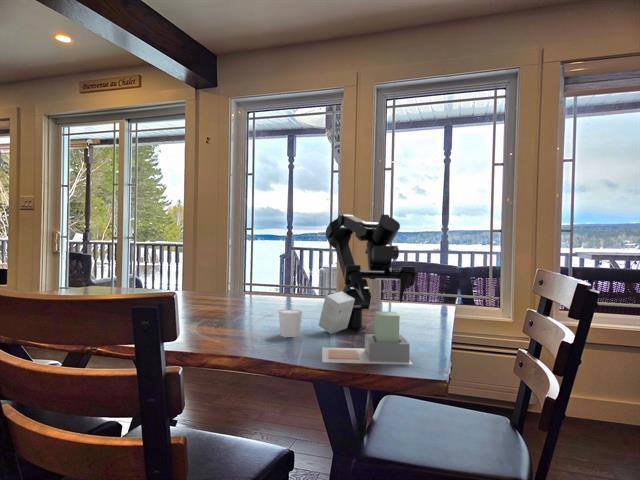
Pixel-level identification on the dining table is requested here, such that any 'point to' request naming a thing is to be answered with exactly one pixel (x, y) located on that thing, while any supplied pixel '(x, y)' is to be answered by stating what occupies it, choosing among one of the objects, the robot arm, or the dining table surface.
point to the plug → (386, 327)
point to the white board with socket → (371, 352)
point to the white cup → (290, 323)
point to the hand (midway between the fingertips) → (382, 300)
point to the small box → (336, 312)
